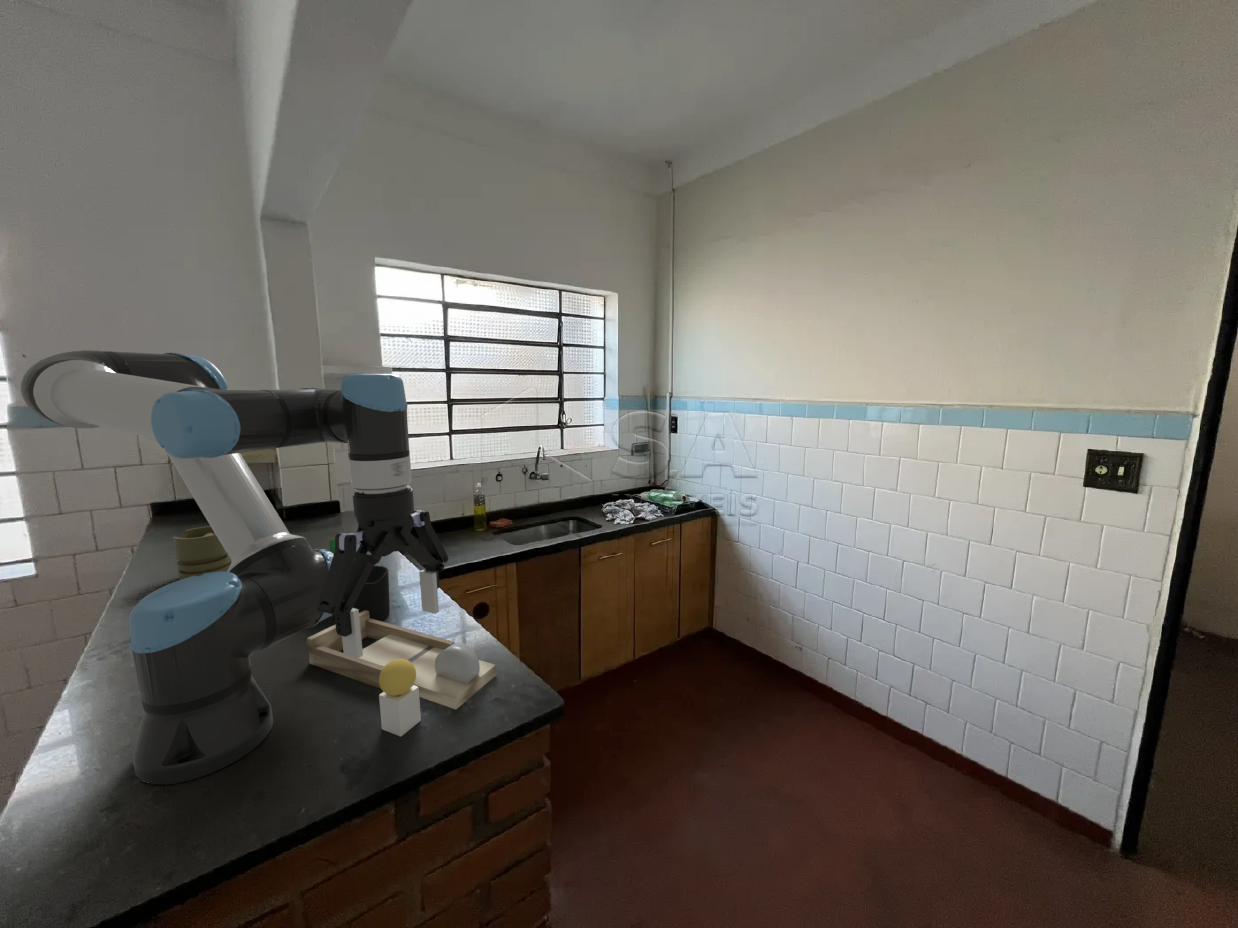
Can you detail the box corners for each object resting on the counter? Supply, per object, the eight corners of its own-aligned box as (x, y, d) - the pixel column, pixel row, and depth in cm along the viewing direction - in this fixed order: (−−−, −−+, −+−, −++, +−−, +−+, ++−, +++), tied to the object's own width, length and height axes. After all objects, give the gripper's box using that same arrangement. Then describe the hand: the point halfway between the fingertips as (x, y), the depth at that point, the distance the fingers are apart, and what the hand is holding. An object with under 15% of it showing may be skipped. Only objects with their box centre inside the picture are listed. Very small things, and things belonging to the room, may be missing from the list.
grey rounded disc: (468, 695, 81) (466, 656, 79) (435, 685, 83) (433, 646, 82) (480, 685, 83) (478, 647, 82) (448, 675, 86) (446, 638, 85)
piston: (163, 540, 121) (186, 527, 131) (170, 587, 123) (193, 570, 133) (218, 536, 124) (237, 524, 135) (224, 581, 126) (242, 565, 137)
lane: (451, 713, 76) (449, 684, 76) (309, 663, 90) (306, 638, 89) (499, 672, 87) (498, 646, 86) (366, 633, 100) (364, 610, 100)
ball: (397, 706, 70) (395, 674, 69) (372, 697, 72) (369, 666, 71) (424, 687, 74) (422, 656, 73) (400, 678, 76) (397, 649, 75)
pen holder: (384, 625, 103) (380, 581, 102) (336, 629, 102) (331, 583, 100) (396, 605, 113) (393, 564, 111) (352, 608, 111) (348, 566, 109)
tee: (400, 736, 71) (397, 701, 70) (381, 729, 73) (378, 694, 72) (420, 720, 75) (418, 686, 74) (402, 713, 76) (399, 680, 75)
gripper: (313, 512, 55) (332, 685, 58) (466, 473, 77) (473, 600, 81) (271, 505, 58) (291, 670, 61) (430, 470, 80) (438, 593, 84)
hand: (395, 631), depth 71 cm, fingers open, 13 cm apart
